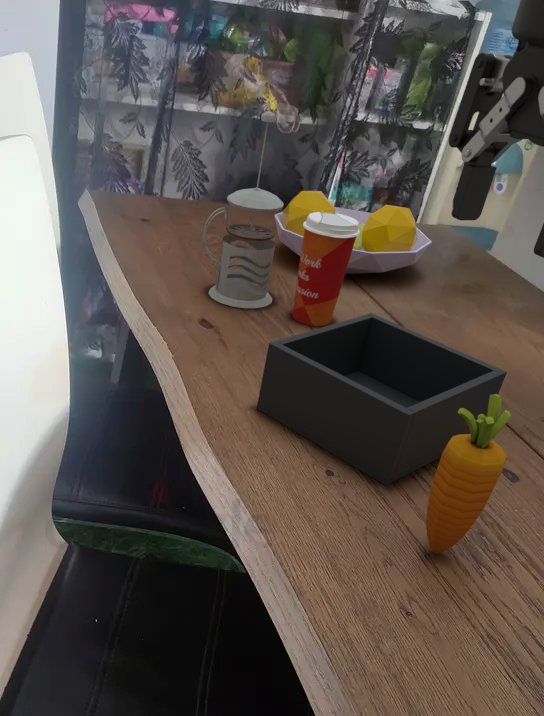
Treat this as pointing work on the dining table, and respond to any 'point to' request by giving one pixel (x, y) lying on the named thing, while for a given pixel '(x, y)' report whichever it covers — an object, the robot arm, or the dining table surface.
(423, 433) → the open dark gray box
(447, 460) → the carrot
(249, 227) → the french press
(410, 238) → the fruit bowl
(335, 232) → the paper cup
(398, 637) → the dining table surface
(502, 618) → the dining table surface
